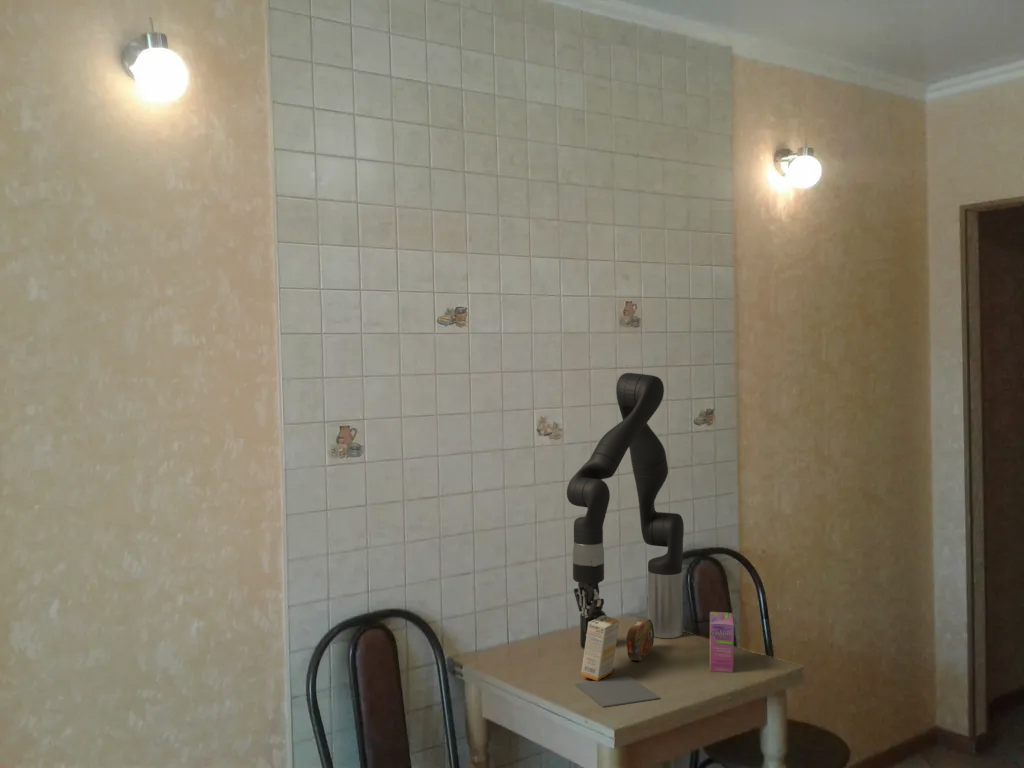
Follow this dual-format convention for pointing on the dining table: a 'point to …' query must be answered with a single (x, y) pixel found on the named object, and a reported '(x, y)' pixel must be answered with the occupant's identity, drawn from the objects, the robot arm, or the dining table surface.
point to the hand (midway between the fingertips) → (588, 632)
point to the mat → (617, 691)
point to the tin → (640, 640)
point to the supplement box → (600, 647)
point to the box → (721, 642)
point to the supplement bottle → (582, 633)
